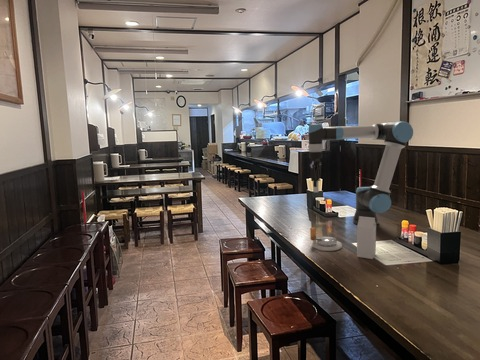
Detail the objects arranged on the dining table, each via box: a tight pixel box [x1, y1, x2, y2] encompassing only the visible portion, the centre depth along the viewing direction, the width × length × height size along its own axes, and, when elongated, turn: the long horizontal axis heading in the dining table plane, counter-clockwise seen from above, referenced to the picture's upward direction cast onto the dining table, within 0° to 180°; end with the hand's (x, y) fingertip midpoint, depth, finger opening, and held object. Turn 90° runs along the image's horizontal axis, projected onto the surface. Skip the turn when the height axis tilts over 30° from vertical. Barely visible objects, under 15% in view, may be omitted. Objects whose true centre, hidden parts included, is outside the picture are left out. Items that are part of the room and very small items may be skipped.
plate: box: [311, 240, 343, 252], centre depth 181 cm, size 15×15×3 cm
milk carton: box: [356, 216, 377, 260], centre depth 165 cm, size 7×7×19 cm
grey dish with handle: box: [309, 227, 338, 247], centre depth 181 cm, size 10×13×8 cm
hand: (315, 192), depth 201 cm, fingers closed
